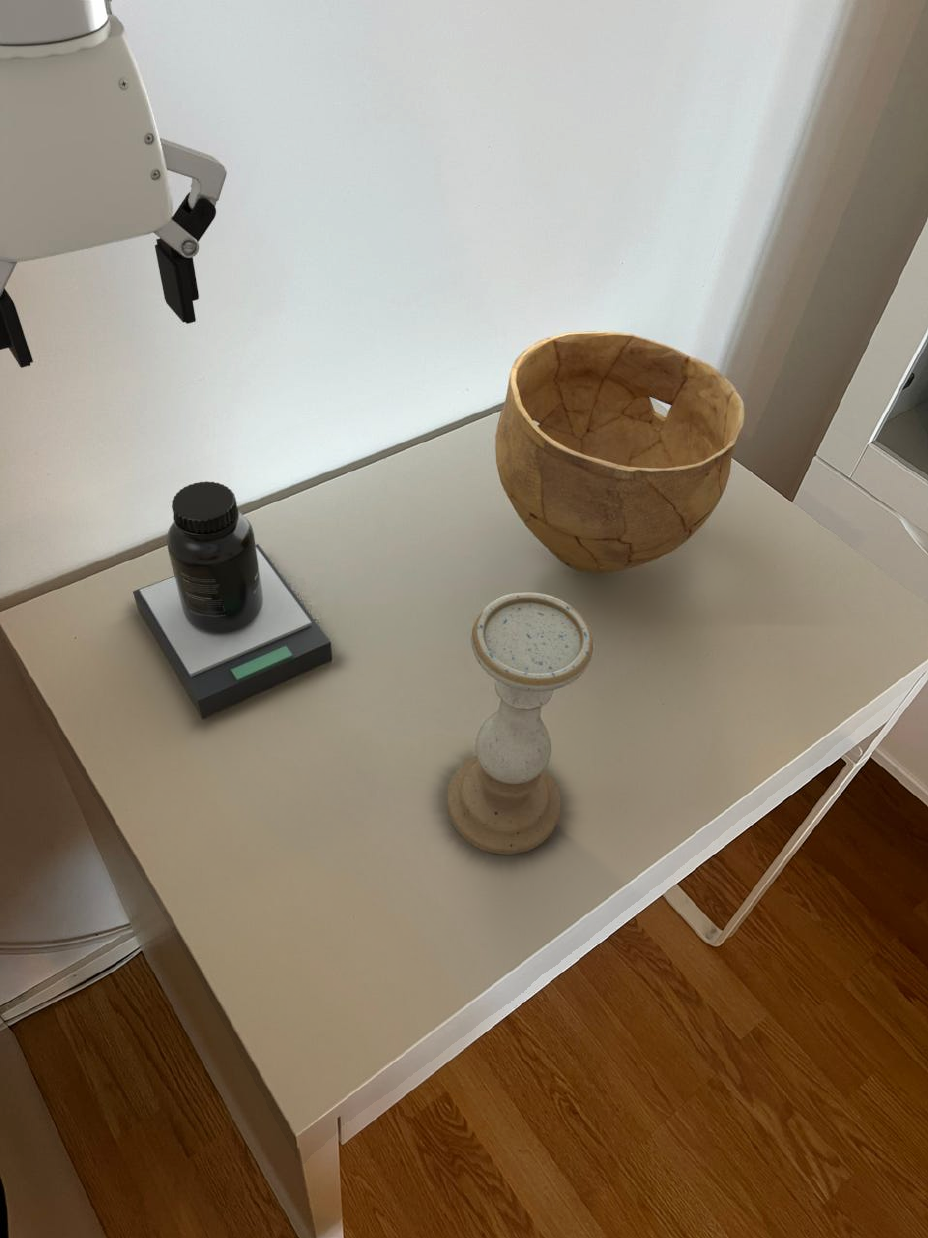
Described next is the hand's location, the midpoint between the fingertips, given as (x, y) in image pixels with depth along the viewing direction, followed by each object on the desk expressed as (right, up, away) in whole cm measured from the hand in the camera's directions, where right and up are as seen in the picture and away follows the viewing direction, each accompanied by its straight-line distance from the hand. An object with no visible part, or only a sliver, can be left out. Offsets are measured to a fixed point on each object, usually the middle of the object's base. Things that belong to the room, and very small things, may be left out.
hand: (103, 332), depth 55 cm
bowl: (+33, -12, +36) cm, 50 cm away
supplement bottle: (+1, -16, +26) cm, 30 cm away
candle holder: (+24, -31, +18) cm, 43 cm away
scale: (+1, -18, +27) cm, 33 cm away
